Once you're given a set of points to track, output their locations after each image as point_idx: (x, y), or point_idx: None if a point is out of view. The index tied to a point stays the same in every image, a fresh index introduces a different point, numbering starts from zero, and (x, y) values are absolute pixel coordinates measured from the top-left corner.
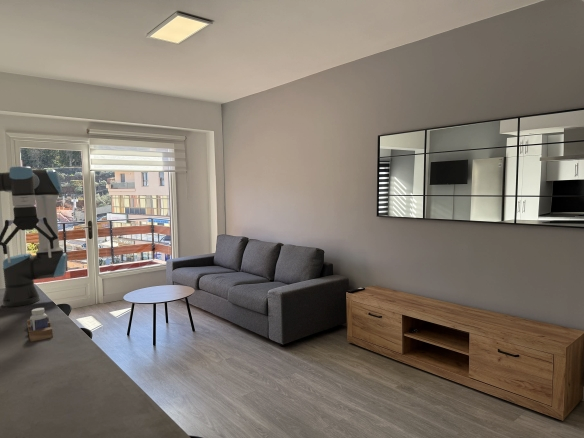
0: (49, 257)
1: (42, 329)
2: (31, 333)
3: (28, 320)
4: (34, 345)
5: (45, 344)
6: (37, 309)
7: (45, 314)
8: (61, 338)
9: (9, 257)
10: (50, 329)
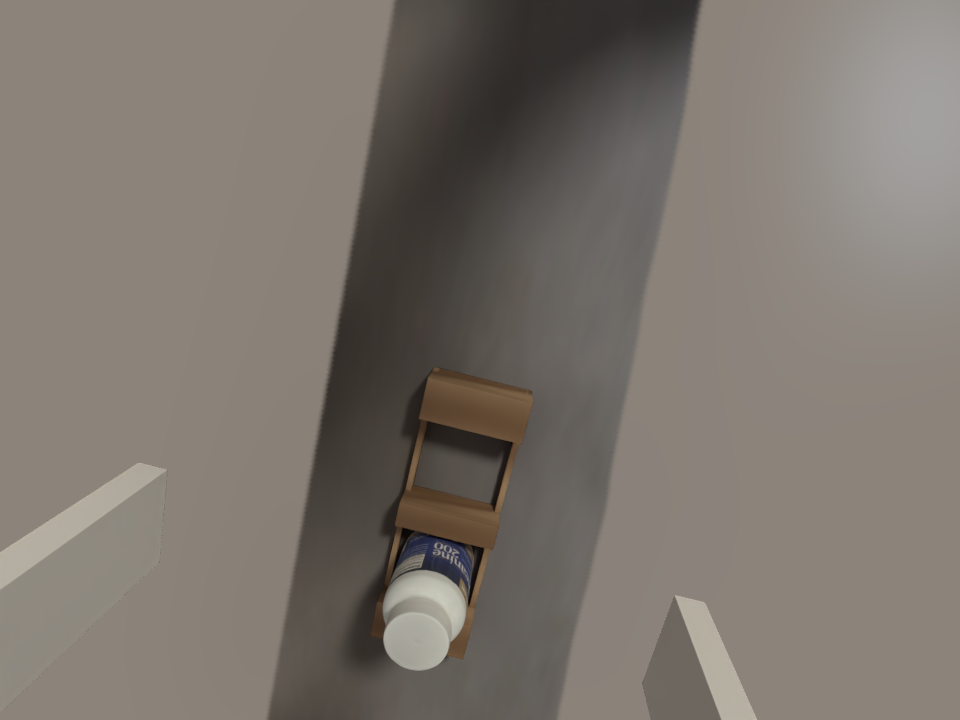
0: (647, 685)
1: None
2: (378, 636)
3: (428, 399)
4: (380, 666)
5: (414, 692)
6: (413, 641)
7: (453, 636)
8: (485, 679)
9: (98, 611)
10: (455, 657)
